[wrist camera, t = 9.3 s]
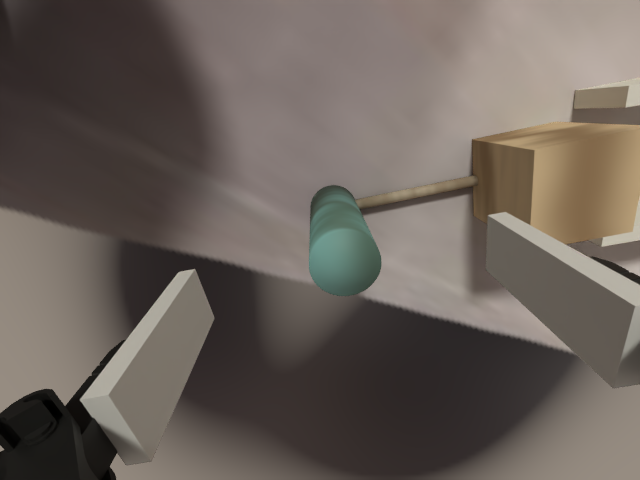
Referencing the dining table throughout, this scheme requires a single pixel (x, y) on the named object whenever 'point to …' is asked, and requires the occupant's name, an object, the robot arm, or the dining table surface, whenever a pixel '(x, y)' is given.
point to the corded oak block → (498, 195)
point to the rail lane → (613, 97)
